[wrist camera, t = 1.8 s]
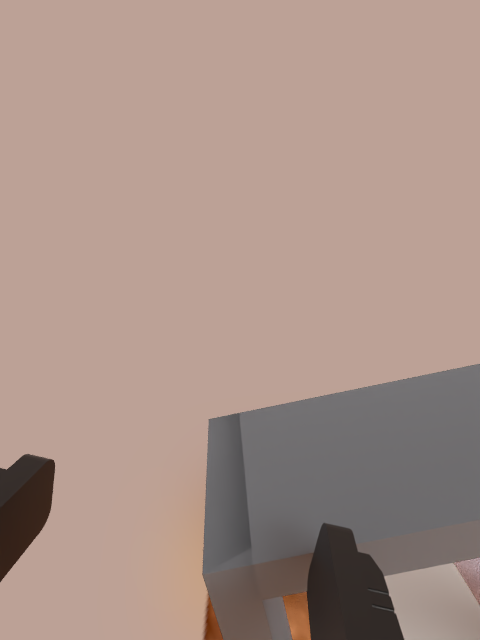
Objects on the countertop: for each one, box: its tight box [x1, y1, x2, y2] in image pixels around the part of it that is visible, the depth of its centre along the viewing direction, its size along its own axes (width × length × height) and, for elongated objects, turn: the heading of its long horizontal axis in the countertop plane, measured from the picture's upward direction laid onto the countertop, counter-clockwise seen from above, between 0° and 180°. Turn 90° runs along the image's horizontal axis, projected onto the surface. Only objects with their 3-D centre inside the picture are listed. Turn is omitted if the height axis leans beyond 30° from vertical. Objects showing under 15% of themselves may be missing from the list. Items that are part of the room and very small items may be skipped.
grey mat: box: [384, 563, 480, 640], centre depth 33 cm, size 12×10×1 cm
